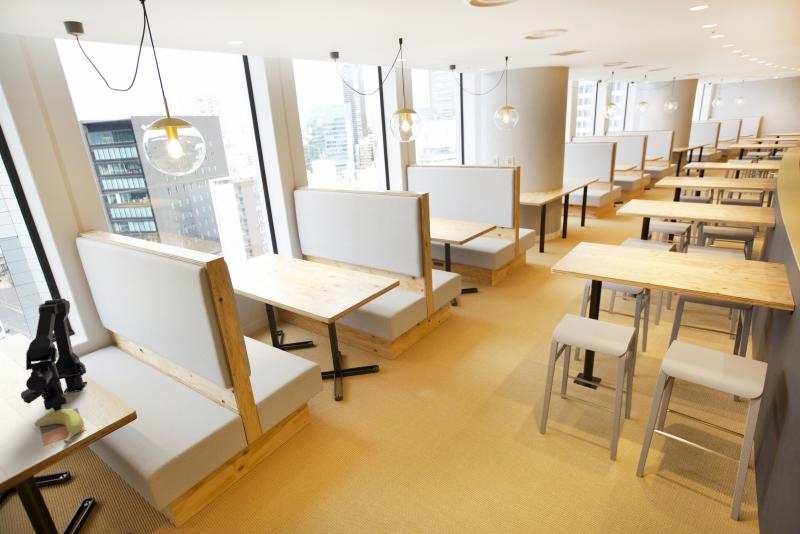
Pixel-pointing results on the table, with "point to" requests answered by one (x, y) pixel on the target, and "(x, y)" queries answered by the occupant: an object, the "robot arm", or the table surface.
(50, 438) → the pad
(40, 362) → the robot arm
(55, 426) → the mat
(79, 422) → the banana
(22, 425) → the table surface
